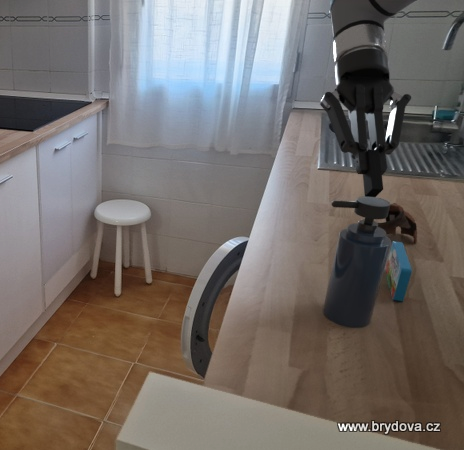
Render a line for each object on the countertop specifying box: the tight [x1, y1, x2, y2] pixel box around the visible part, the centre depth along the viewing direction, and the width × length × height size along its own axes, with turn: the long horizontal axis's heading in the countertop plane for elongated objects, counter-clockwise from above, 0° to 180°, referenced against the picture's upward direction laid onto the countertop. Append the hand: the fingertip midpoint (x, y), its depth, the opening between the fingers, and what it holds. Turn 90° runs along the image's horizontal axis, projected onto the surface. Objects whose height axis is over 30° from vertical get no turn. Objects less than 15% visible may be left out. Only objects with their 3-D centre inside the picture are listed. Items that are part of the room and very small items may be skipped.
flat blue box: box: [384, 240, 413, 303], centre depth 95 cm, size 12×2×6 cm, turn 157°
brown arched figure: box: [377, 202, 418, 245], centre depth 115 cm, size 12×10×8 cm
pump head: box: [331, 195, 391, 224], centre depth 80 cm, size 8×4×3 cm, turn 81°
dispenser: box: [322, 218, 392, 329], centre depth 84 cm, size 7×7×16 cm
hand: (373, 192), depth 79 cm, fingers closed
